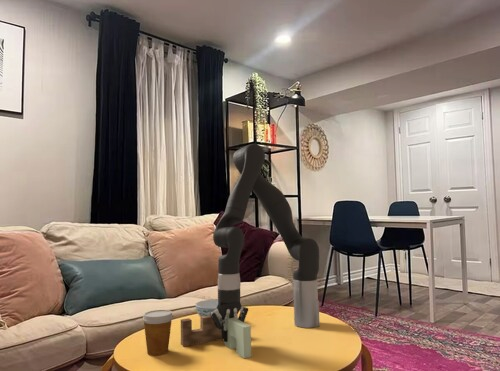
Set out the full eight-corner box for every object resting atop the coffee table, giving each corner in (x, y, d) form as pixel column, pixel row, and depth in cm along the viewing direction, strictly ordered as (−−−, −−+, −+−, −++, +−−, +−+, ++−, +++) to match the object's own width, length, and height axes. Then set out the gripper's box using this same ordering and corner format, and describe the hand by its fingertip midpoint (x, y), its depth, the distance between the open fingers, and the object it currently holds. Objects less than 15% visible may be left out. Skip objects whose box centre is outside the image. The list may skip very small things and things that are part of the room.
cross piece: (224, 344, 122) (224, 316, 123) (231, 343, 123) (230, 315, 124) (243, 358, 110) (243, 327, 111) (251, 356, 111) (250, 326, 112)
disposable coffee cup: (179, 349, 119) (179, 310, 120) (160, 359, 110) (160, 318, 111) (155, 345, 123) (155, 308, 124) (135, 355, 114) (135, 315, 115)
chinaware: (204, 331, 137) (204, 310, 137) (190, 321, 150) (190, 302, 150) (240, 324, 144) (239, 304, 145) (223, 316, 157) (223, 297, 158)
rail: (234, 334, 133) (234, 311, 133) (237, 336, 130) (237, 312, 131) (180, 344, 123) (180, 319, 124) (183, 346, 121) (182, 321, 122)
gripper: (242, 283, 130) (243, 333, 128) (205, 287, 123) (205, 340, 122) (252, 286, 123) (253, 340, 121) (213, 291, 116) (214, 347, 115)
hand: (229, 340), depth 122 cm, fingers closed on cross piece, 2 cm apart
